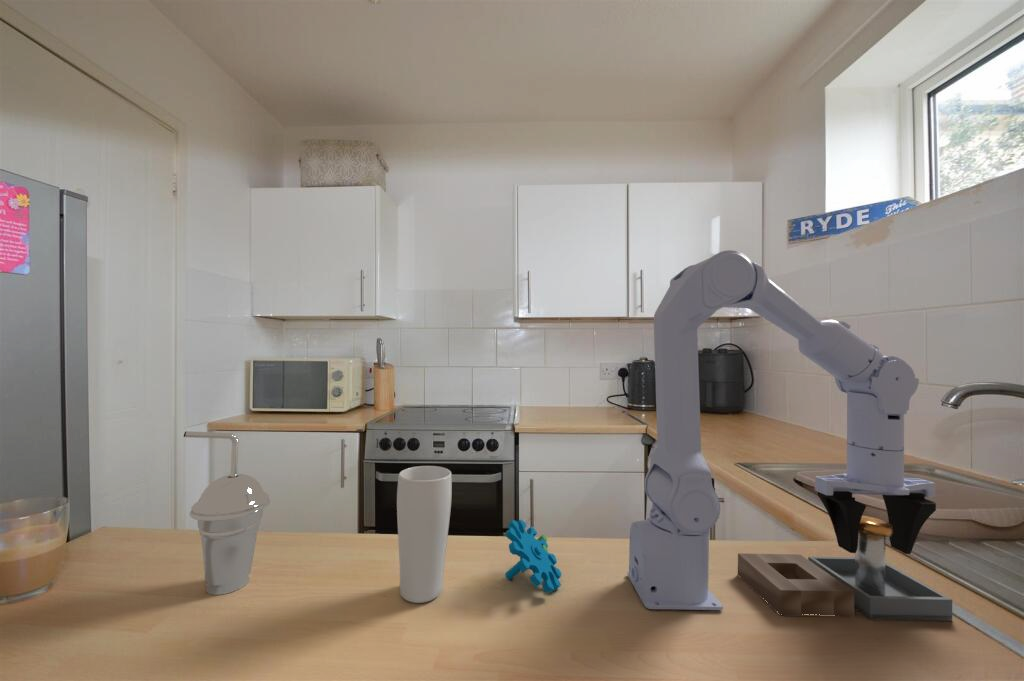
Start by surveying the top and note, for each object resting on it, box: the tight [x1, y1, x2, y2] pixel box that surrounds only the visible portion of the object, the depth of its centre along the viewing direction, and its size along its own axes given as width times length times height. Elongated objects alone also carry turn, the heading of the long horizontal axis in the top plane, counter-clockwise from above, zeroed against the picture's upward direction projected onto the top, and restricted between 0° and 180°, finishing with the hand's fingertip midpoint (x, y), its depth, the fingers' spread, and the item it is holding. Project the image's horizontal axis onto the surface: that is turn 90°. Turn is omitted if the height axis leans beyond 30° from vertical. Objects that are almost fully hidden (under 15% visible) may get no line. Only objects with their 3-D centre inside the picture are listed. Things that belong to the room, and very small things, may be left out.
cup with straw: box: [183, 430, 271, 596], centre depth 53 cm, size 8×9×20 cm
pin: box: [854, 515, 893, 596], centre depth 54 cm, size 4×4×9 cm
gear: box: [504, 519, 562, 594], centre depth 56 cm, size 11×6×10 cm
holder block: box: [737, 553, 855, 618], centre depth 54 cm, size 9×9×3 cm
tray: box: [807, 556, 953, 622], centre depth 54 cm, size 10×10×2 cm
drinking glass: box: [396, 465, 453, 604], centre depth 52 cm, size 7×7×15 cm
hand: (873, 549), depth 54 cm, fingers open, 7 cm apart
